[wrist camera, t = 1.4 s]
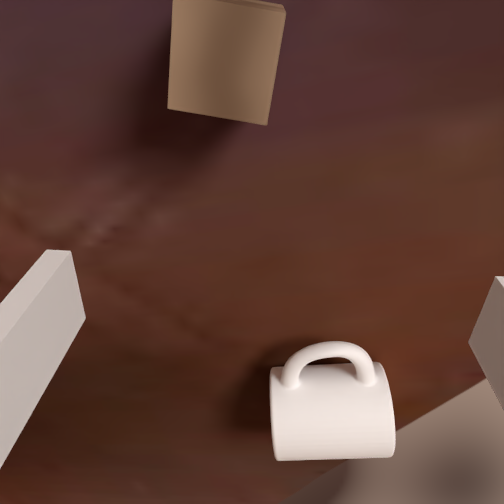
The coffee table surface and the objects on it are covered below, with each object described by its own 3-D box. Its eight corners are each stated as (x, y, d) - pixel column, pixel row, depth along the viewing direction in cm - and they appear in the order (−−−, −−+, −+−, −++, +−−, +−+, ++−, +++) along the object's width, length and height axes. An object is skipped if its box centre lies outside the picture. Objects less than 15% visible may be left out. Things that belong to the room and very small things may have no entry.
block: (192, 78, 28) (167, 108, 22) (199, -11, 26) (173, -7, 19) (268, 91, 29) (266, 125, 22) (282, 4, 26) (286, 13, 19)
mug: (374, 400, 44) (393, 476, 37) (276, 405, 45) (277, 479, 38) (379, 309, 38) (402, 380, 31) (265, 316, 39) (264, 386, 32)
